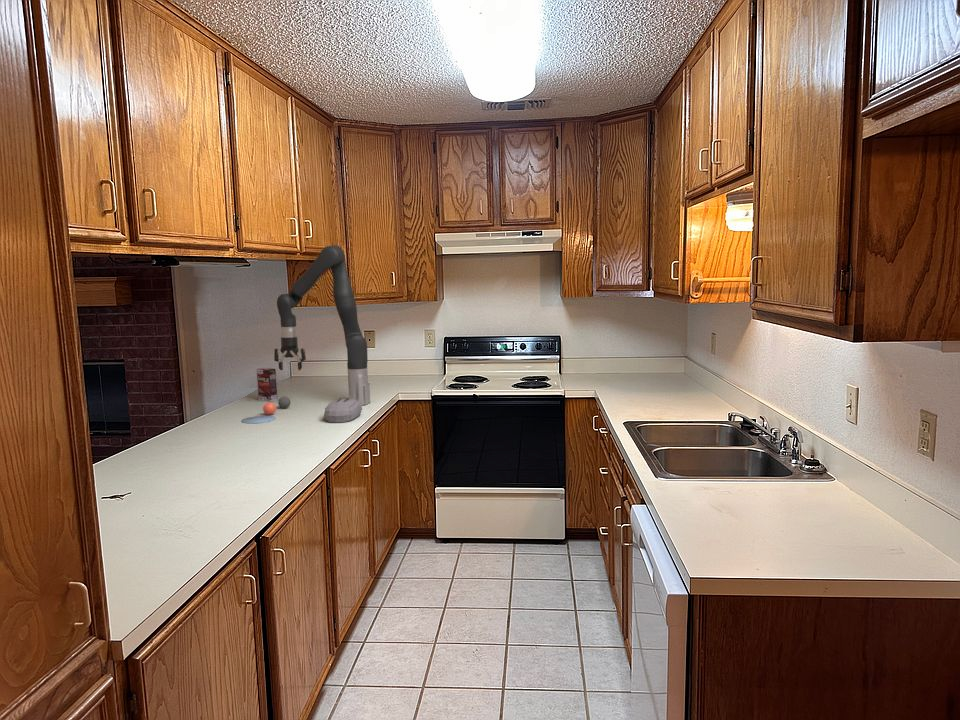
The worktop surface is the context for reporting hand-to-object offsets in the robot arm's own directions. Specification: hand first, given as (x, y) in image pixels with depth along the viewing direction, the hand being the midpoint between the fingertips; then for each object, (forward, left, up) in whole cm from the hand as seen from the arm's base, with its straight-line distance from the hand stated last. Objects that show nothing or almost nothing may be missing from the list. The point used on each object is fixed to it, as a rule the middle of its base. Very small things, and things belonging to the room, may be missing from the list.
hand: (290, 370), depth 308 cm
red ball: (0, +23, -14) cm, 27 cm away
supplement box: (+18, -9, -17) cm, 26 cm away
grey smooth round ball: (0, +9, -14) cm, 16 cm away
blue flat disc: (0, +33, -17) cm, 37 cm away
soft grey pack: (-36, +27, -17) cm, 48 cm away
